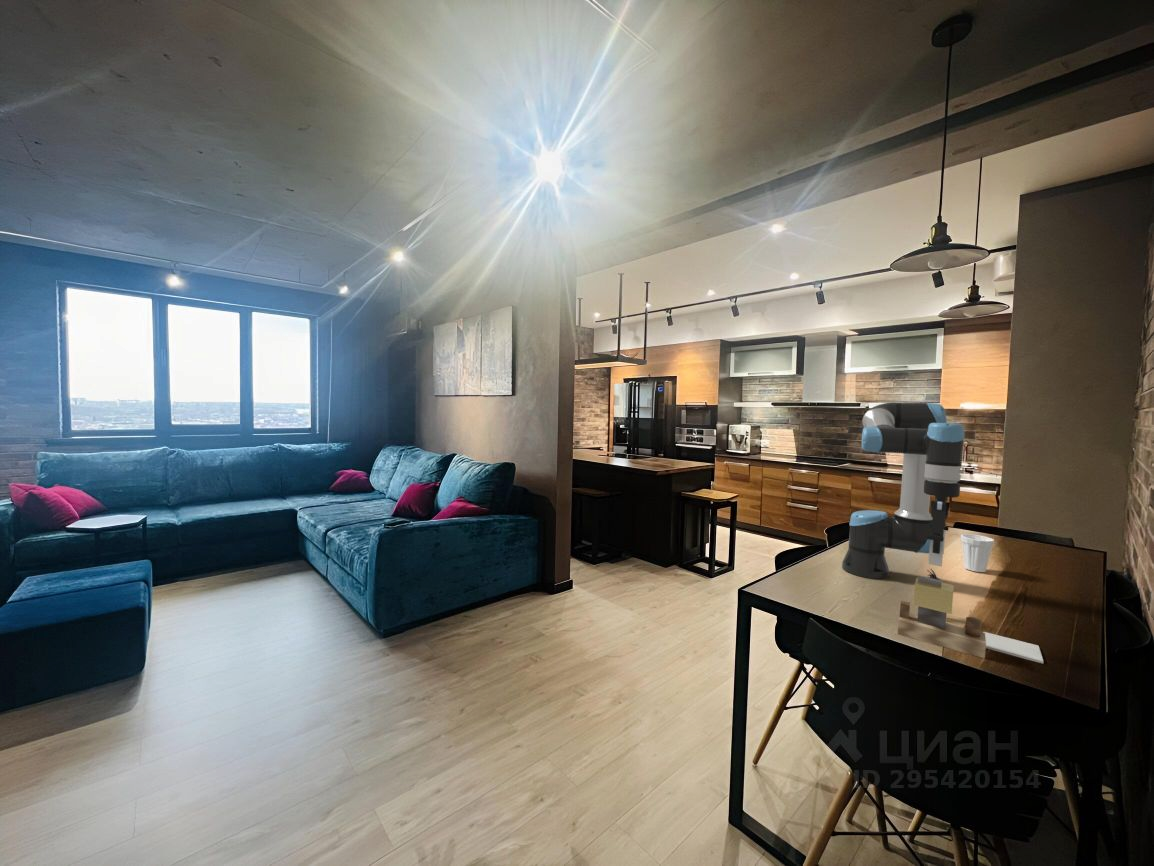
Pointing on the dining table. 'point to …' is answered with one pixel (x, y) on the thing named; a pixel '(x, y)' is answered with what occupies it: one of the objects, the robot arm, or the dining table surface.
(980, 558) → the cup
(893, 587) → the dining table surface
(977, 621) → the plane body
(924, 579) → the beige box
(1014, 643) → the mat
